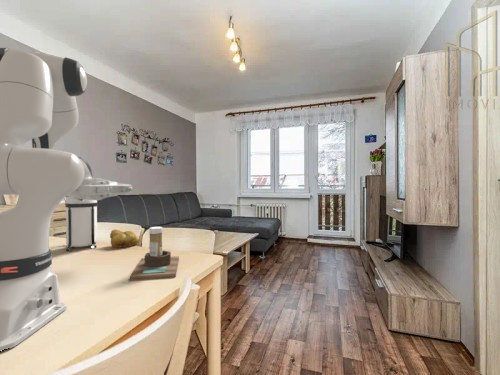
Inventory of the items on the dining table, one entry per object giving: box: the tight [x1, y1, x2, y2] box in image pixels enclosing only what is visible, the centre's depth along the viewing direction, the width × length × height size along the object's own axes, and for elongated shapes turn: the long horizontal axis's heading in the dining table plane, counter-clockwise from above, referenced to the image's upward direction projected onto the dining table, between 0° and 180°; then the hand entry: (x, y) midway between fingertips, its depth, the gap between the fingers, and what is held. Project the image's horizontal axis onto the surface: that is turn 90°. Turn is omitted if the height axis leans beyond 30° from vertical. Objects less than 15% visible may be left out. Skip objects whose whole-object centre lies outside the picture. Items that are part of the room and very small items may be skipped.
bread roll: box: [109, 229, 140, 249], centre depth 120 cm, size 13×10×8 cm
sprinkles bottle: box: [148, 226, 164, 257], centre depth 90 cm, size 5×5×14 cm
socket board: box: [129, 250, 180, 281], centre depth 89 cm, size 19×14×5 cm
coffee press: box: [64, 196, 98, 252], centre depth 117 cm, size 17×16×30 cm
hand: (121, 189), depth 95 cm, fingers open, 8 cm apart
